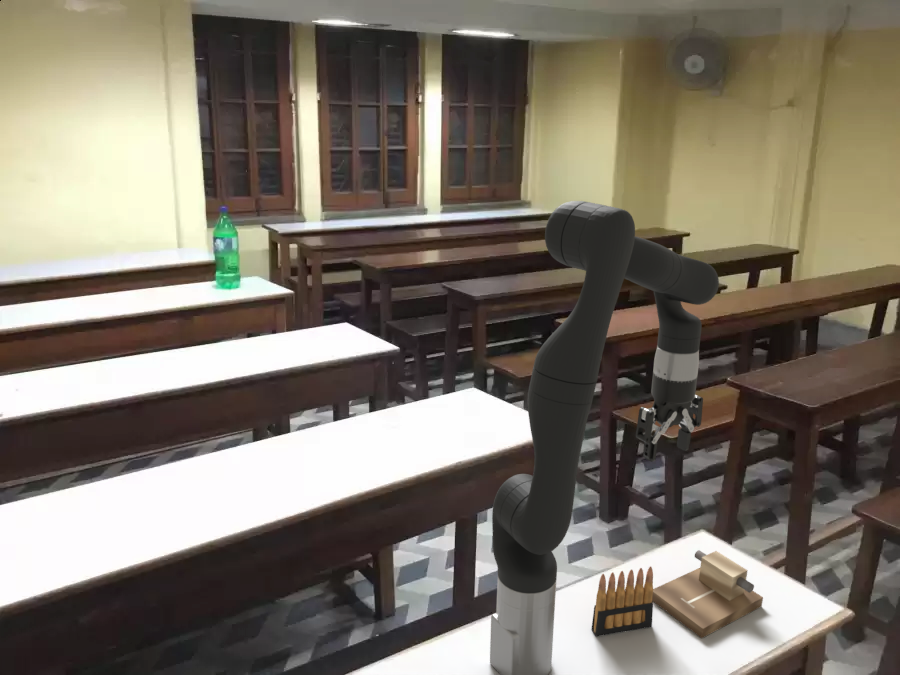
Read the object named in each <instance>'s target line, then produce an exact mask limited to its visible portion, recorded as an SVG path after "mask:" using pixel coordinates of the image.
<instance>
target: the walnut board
mask: <svg viewBox="0 0 900 675" xmlns="http://www.w3.org/2000/svg"><path fill="white" fill-rule="evenodd" d="M699 574H700V567H699V568H696V569H694V570H692V571H689V572H687V573H685V574H683V575H681V576H678V577H676V578H674V579H672V580H671V581H668V582H665V583H663V584H661V585H659V586H657V587H655V588H653V596H652V602H653V604H654V603H655V604H656V605H657V606H658V607H660V608H661V609H662V610H664V611H665V612H666V613H667V614H669V615H670V616H671V617H673V618H674V619H676V621H677V622H679V623H680V624H682V625H683V626H685V627H686V628H688V629H689V630H690V631H691V632H693V633H694V634H695V635H696V636H698V637H699V638H701V639H703V638H705V637H706V636H709V635H710V634H712V633H714V632H716V631H718V630H720V629H722V628H724V627H726V626H727V625H730V624H731V623H734V622H735V621H737V620H739V619H741V618H743V617H744V616H747V615H748V614H750V613H752V612H754V611H756V610H758V609H759V608H762V606H763V601H764V600H763V599H764V597H763V596H762V595H760V594H758V593H757V592H756V591H754V590H752V592H750V593H749V592H747V591H746V590H744V594H742V595H740V596H738V597H736V598H734V599H732V600H730V601H729V600H727V599H726V598H725V597H723V596H722V595H720V594H719V593H717V592H716V591H714V590H713V589H711V588H710V587H708V586H707V585H705V584H704V583H702V582H701V581H699Z"/></svg>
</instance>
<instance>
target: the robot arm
mask: <svg viewBox="0 0 900 675" xmlns="http://www.w3.org/2000/svg"><path fill="white" fill-rule="evenodd" d="M544 230H545V231H544V232H545V233H544V242H545V247H546V250H547V251H548V253H549V254H550V256H551V257H552V258H553V259H554V260H555V261H557V262H559V263H560V264H561V265H562V264H563V265H565V266H567V267H570V268H574V269H578V270H582V271H585V275H584V281H583V285H582V288H581V290H580V294H579V297H578V300H577V302H576V304H575V306H574V308H573V310H572V311H571V312H570V314H569V315H568V317H567V318H566V319H565V320H564V321H563V322H562V323H561V324H560V325H559V326H558V327H557V328H556V329H555V330H554V332H553V333H552V334H551V335H550V336H549V337H548V338H547V339H546V340H545V341H544V343H543V344H542V345H541V347H540V348H539V350H538V351H537V353H536V356H535V359H534V363H533V367H532V372H531V377H530V382H529V386H528V392H527V411H528V413H527V414H528V421H529V427H530V435H531V439H532V445H533V453H534V464H533V465H534V466H533V473H532V475H531V474H529V473H528V474H527V473H519V474H518V473H517V474H514V475H512V476H511V477H508V479H506V480H505V481H504V482H503V483H502V484H501V485H500V487H499V488H498V490H497V492H496V494H495V497H494V500H493V506H492V513H491V516H492V518H491V519H492V520H491V523H492V524H491V525H492V528H491V529H492V530H491V531H492V550H493V551H492V552H493V557H494V560H495V563H496V566H497V582H496V583H497V588H496V609H495V611H496V613H493V614H491V615H490V616H491V617H490V647H489V649H490V650H489V664H490V665H492V667H493V668H494V669H495V670H496V671H497V673H498V674H499V675H550V673H551V670H552V658H553V657H552V656H553V646H554V645H553V643H554V628H555V627H554V625H555V612H556V611H555V608H556V593H557V578H558V576H557V574H558V563H557V559H556V557H555V555H554V553H553V551H554V550H555V549H557V548H558V547H559V546H560V544H561V543H562V542H563V541H564V539H565V537H566V535H567V532H568V530H569V527H570V525H571V521H572V516H573V508H574V499H575V492H576V485H577V484H576V483H577V477H578V476H577V475H578V469H579V468H578V467H579V462H580V457H581V452H582V446H583V442H584V436H585V433H586V432H585V431H586V426H587V422H588V418H589V414H590V411H591V407H592V403H593V401H594V395H595V390H596V387H597V383H598V382H597V381H598V377H599V372H600V366H601V361H602V356H603V352H604V349H605V345H606V344H605V343H606V339H607V335H608V331H609V327H610V324H611V320H612V316H613V314H614V310H615V307H616V303H617V301H618V298H619V295H620V292H621V289H622V285H623V283H624V279H625V280H627V281H630V282H631V283H634V284H636V285H638V286H640V287H643V288H645V289H648V290H649V291H650V290H651V291H652V292H653V295H654V300H655V306H656V312H657V313H656V314H657V318H658V324H659V326H658V336H657V343H656V344H657V345H656V351H655V354H654V360H653V371H652V381H651V390H650V392H651V396H652V398H653V400H654V401H653V404H652V405H651V407H649V408H646V407H644V406H641V407H640V408H639V410H638V417H637V424H636V431H635V438H636V439H637V440H638V439H639V440H640V441H642V442H643V451H642V452H643V453H642V455H643V457H644V459H645V460H646V461H649V462H650V463H653V462H655V461H657V460H656V459H657V458H656V457H657V450H658V440H659V439H660V437H662V435H664V434H665V433H667V430H668V429H669V428H671V427H673V426H677V425H678V426H679V427H680V428H678V432H677V439H676V440H677V442H676V447H677V448H678V449H680V450H681V451H683V452H684V451H685V452H686V451H688V450H689V449H690V448H689V447H690V444H691V437H692V433H693V431H694V430H695V428H696V427H697V428H698V427H700V426H701V425H702V420H703V418H702V417H703V405H704V398H703V397H702V396H699V395H697V394H696V391H697V390H696V389H697V382H698V374H699V365H700V364H699V363H700V354H699V352H700V346H701V345H700V343H701V337H702V336H701V334H702V328H703V327H702V326H703V325H702V321H701V319H700V318H699V317H698V316H696V315H694V314H692V313H690V312H688V310H686V309H685V308H684V307H683V305H682V303H686V304H690V305H695V306H697V305H704V304H707V303H709V302H710V301H712V300H713V298H714V297H715V296H716V294H717V293H718V290H719V284H720V280H719V276H718V273H717V271H716V269H715V268H714V267H713V266H712V265H711V264H710V263H708V262H704V261H702V260H698V259H696V258H691V257H688V256H684V255H681V254H678V253H677V252H675V251H673V250H672V249H670V248H667V247H666V246H664V245H661V244H659V243H656V242H654V241H652V240H648V239H645V238H642V237H638V236H636V226H635V221H634V218H633V216H632V214H631V213H630V212H629V211H628V210H625V209H623V208H619V207H614V206H609V205H604V204H600V203H595V202H590V201H583V200H570V201H566V202H564V203H562V204H560V205H559V206H558V207H556V208H555V209H554V210H553V212H552V213H551V214H550V216H549V217H548V220H547V223H546V226H545V229H544ZM656 422H657V423H658V424H659V425H660V426H658V425H657V424H656ZM653 431H655V432H654V433H653ZM652 433H653V435H652Z"/></svg>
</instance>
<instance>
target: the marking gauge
mask: <svg viewBox="0 0 900 675" xmlns="http://www.w3.org/2000/svg"><path fill="white" fill-rule="evenodd" d="M694 558H695V559H697V560H698V561H699V562H700V565H699V566H700V567H699V568H700V574H699V581H701V582H702V583H704V584H705V585H707V586H708V587H710V588H711V589H713V590H714V591H716V592H717V593H719V594H720V595H722V596H723V597H725V598H726V599H727V600H729V601H730V600H732V599H734V598H736V597H738V596H740V595H742V594H744V590H746V591H747V592H749V593H750V592H752V591H754V589H755V584H753V583H752V582H750V581H749V580H747V578H748V576H747V575H748V569H746V568H745V567H744V566H741V565H739V564H738V563H737V562H735V561H733V560H732V559H730V558H728V557H727V556H725V555H724V554H722V553H720V552H719V551H717V550H715V551H713V552H710V553H709V554H707V553H704V552H703V551H701V550H700V549H699V550H697V551H695V553H694Z"/></svg>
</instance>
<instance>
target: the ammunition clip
mask: <svg viewBox="0 0 900 675" xmlns="http://www.w3.org/2000/svg"><path fill="white" fill-rule="evenodd" d="M645 575H646V577H644V576H645ZM645 575H644V570H643V567H640V568H639V569H638V572H637V575H636V581H635V575H634V571H633V569H630V570H629V572H628V574H627V577H626V578H627V579H625V573H624V571H623V570H621V571H620V573H619V575H618V577H617V578H618V579H617V584H616V577H615V573H614V572H611V573H610V576H609V579H608V583H607V580H606V575H605V574H604V573H602V574H601V576H600V578H599V582H598V588H597V593H596V598H595V600H596V601H595V605H594V608H593V614H592V622H591V623H592V624H591V631H592V632H593V635H594V636H595V637H602V636H608V635H615V634H620V633H624V632H625V631H626V632H631V631H636V630H641V629H646V628H647V629H649V628H652V626H653V614H654V613H653V612H654V602H653V601H652V596H653V589H654V586H653V583H654V571H653V567H652V566H651V565H650V566H649V567H648V569H647V571H646V574H645ZM644 578H645V582H644ZM625 580H626V582H625ZM606 587H607V588H606Z"/></svg>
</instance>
